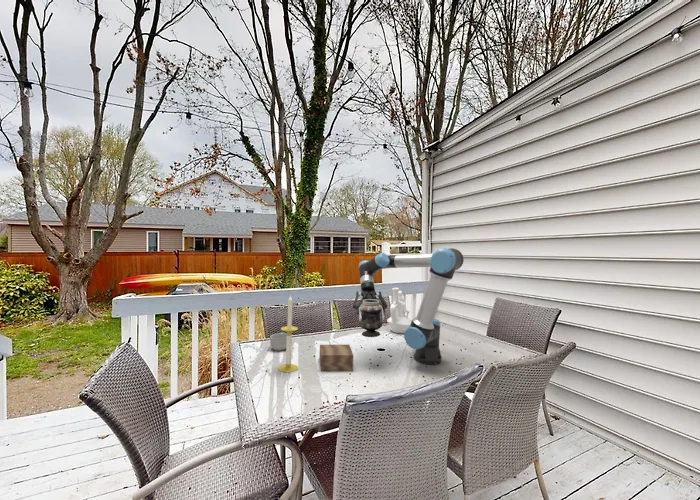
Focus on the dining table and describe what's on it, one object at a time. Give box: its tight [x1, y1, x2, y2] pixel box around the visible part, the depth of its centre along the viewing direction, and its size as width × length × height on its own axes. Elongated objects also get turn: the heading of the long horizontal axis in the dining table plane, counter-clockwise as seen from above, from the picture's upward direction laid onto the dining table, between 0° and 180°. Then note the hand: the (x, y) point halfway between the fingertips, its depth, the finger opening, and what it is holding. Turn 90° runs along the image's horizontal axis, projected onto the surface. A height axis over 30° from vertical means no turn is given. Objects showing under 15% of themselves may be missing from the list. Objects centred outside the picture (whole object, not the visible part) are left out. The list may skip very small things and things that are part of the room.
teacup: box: [269, 331, 287, 352], centre depth 202 cm, size 14×11×8 cm
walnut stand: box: [318, 344, 354, 372], centre depth 180 cm, size 16×16×8 cm
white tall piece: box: [386, 287, 412, 334], centre depth 243 cm, size 18×22×32 cm
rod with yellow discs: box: [277, 294, 299, 373], centre depth 172 cm, size 10×10×38 cm
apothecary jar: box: [358, 299, 383, 338], centre depth 181 cm, size 12×12×18 cm
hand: (371, 319), depth 179 cm, fingers closed on apothecary jar, 11 cm apart
